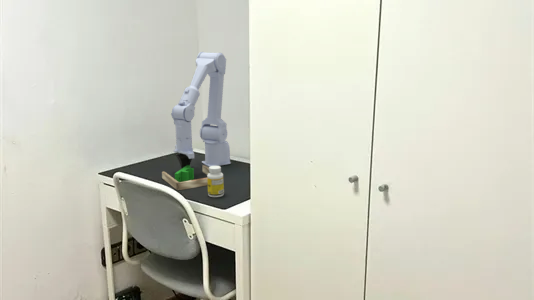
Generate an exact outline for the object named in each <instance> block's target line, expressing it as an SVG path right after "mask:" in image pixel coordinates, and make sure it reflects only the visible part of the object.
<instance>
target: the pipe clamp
mask: <svg viewBox="0 0 534 300" xmlns="http://www.w3.org/2000/svg"><path fill="white" fill-rule="evenodd" d="M194 170H195V169H194V167H191V164H190V165H187V166H185V167H184V168H182V169H181V168H180V169H179V170H178V171H176V172H175V173H174V179H175V180H177V181H178V182H184V181H190V180H195V175H194V174H195V173H194V172H195V171H194Z"/></svg>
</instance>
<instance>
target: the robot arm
mask: <svg viewBox="0 0 534 300" xmlns="http://www.w3.org/2000/svg"><path fill="white" fill-rule="evenodd" d="M195 67H196V68H195V71H194V73H193V77H192V79H191V82H190V85H189V86H186V87H185V89H184V90H183V93H182V95H181V97H180V99H179V101H178V103H177V104H176V105H174V106H173V107H172V111H171V114H170V115H171V118H172V121H173V125H175V142H176V143H175V144H174V148H175V149H173V152H174V153H175V156H176V158H177V160H178V163H179V166H180V170H181V169H182V168H184V167H185V166H187V165H190V166H191V162H192V160H193V159H195V153H194V148H193V139H192V138H193V137H192V136H193V134H192V120H193V119H194V117H195V111H196V104H197V102H198V101H199V97H200V91H199V90H200V88H201V86H202V84H203V82H204V81H205V80H206V77H207V76H209V89H208V90H209V91H208V103H207V115H206V116H207V117H206V118H205V119H203V120H202V121H201V126H200V130H199V136H200V138H201V140H202V143H204V160H202V161H201V163H202V165H205V166H207V167H208V168H209V167H210V166H220V167H221V166H224V165H225V166H226V165H230V164H231V163H232V162H231V150H230V148H231V147H230V144H229V142H228V141H227V140H226V139H227V138H228V130H227V129H228V128H227V122H226V121H225V120H223V118H222V106H223V93H224V92H223V91H224V83H225V82H224V80H225V74H226V67H227V58H226V56H225V55H224V53H223V52H205V51H200V52H198V54H197V56H196V59H195Z"/></svg>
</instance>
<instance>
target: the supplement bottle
mask: <svg viewBox="0 0 534 300" xmlns="http://www.w3.org/2000/svg"><path fill="white" fill-rule="evenodd" d="M208 168H209V172H210V173H209V174H208V175H207V174H206V176H207V177H206V178H207V184H208V185H207V195H208V196H209V197H211V198H221V197H223V196H224V195H225V189H224V188H225V185H224V173H223V172H222V167H221V165H220V166H210V167H208Z"/></svg>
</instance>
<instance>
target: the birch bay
mask: <svg viewBox="0 0 534 300" xmlns="http://www.w3.org/2000/svg"><path fill="white" fill-rule="evenodd" d="M201 169H202V173H203V174H205V175H206V176H207V175H208V174H209V173H210V172H209V167H208V166H207V165H205V164H202V168H201ZM161 178H162V180H164V181H165V182H166V183H168V184H169V185H170V186H171V187H173V188H174V190H177V191H184V190H189V189H195V188H199V187H208V184H207V177H201V178H197V179H196V178H195V179H194V180H189V181H184V182H178V181H177V180H175V177H172V175H170V174H169V173H167V172H166V171H162V172H161Z"/></svg>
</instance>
